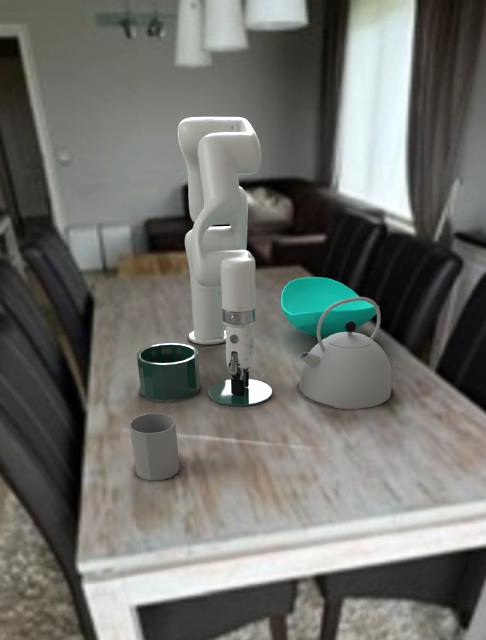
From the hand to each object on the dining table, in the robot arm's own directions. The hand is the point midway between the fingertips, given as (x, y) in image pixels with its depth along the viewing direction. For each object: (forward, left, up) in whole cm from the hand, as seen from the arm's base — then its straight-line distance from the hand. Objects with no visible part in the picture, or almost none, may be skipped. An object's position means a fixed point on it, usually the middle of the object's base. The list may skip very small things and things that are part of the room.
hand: (240, 389), depth 138 cm
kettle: (-8, +24, -2) cm, 25 cm away
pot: (0, -18, -2) cm, 18 cm away
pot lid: (0, 0, -1) cm, 1 cm away
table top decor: (-50, +16, -2) cm, 52 cm away
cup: (+37, -8, -2) cm, 38 cm away
